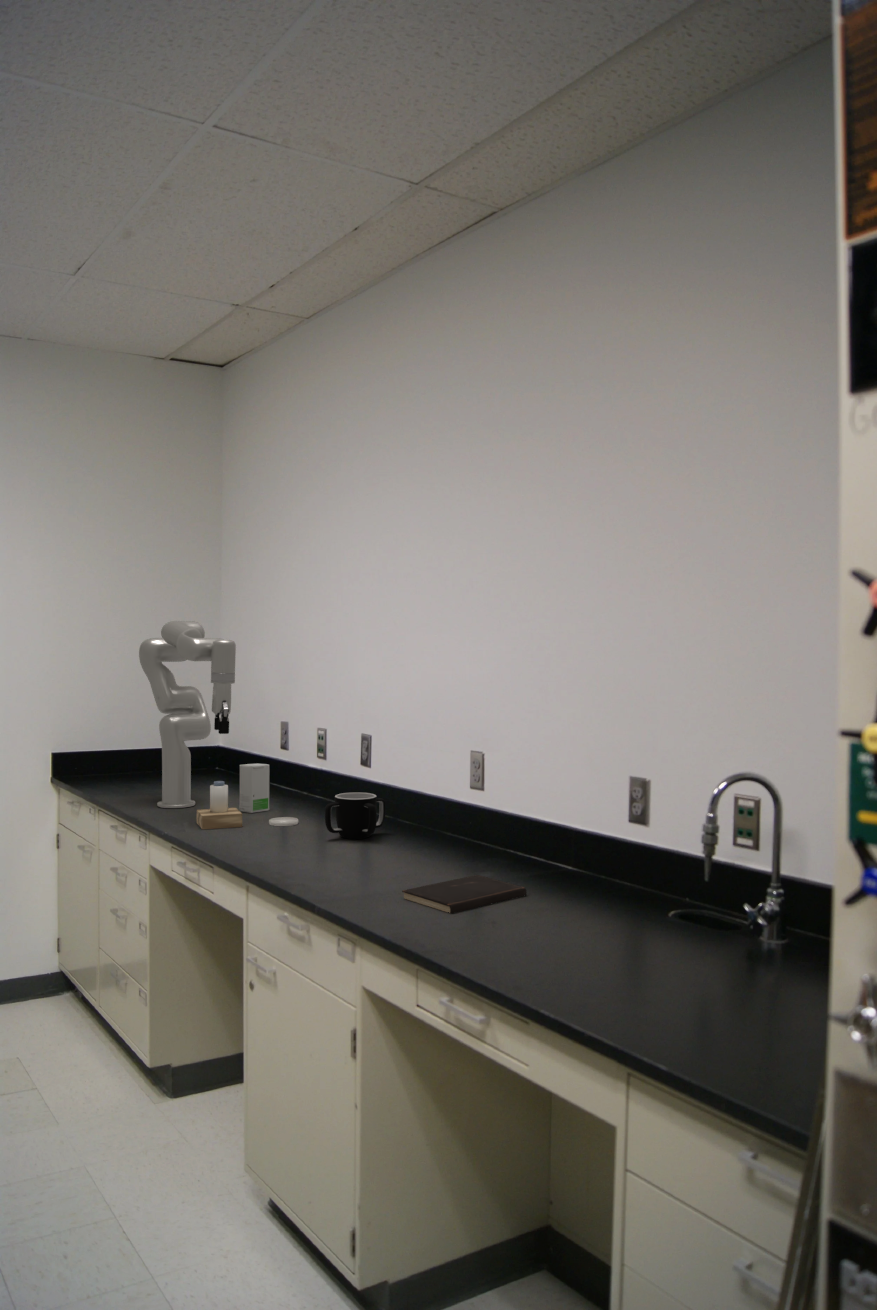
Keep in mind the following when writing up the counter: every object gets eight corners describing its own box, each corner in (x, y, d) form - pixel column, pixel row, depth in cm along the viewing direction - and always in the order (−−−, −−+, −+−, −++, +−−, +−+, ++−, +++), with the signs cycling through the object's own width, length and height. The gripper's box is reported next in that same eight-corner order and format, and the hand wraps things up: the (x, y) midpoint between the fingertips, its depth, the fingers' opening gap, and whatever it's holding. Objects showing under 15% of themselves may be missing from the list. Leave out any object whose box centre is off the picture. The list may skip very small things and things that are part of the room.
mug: (390, 833, 288) (391, 792, 288) (372, 843, 273) (373, 801, 272) (339, 829, 292) (339, 790, 292) (318, 840, 277) (318, 798, 277)
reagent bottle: (208, 810, 301) (209, 781, 301) (226, 809, 303) (226, 780, 303) (211, 813, 296) (211, 783, 296) (229, 812, 298) (229, 782, 298)
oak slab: (196, 822, 303) (196, 809, 303) (235, 820, 307) (235, 807, 307) (202, 829, 292) (202, 816, 292) (242, 826, 296) (242, 813, 296)
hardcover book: (402, 900, 215) (402, 890, 215) (477, 884, 230) (477, 874, 230) (450, 916, 203) (450, 905, 203) (526, 897, 218) (526, 887, 218)
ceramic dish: (266, 822, 304) (266, 818, 304) (294, 820, 308) (294, 816, 308) (272, 827, 296) (272, 823, 296) (301, 825, 299) (301, 821, 299)
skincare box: (251, 813, 319) (251, 766, 319) (237, 811, 323) (238, 764, 323) (270, 810, 326) (270, 763, 326) (256, 808, 330) (257, 762, 330)
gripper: (207, 676, 317) (206, 728, 318) (214, 680, 301) (213, 735, 302) (230, 676, 320) (229, 728, 321) (239, 680, 304) (237, 735, 304)
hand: (221, 731), depth 311 cm, fingers open, 9 cm apart
